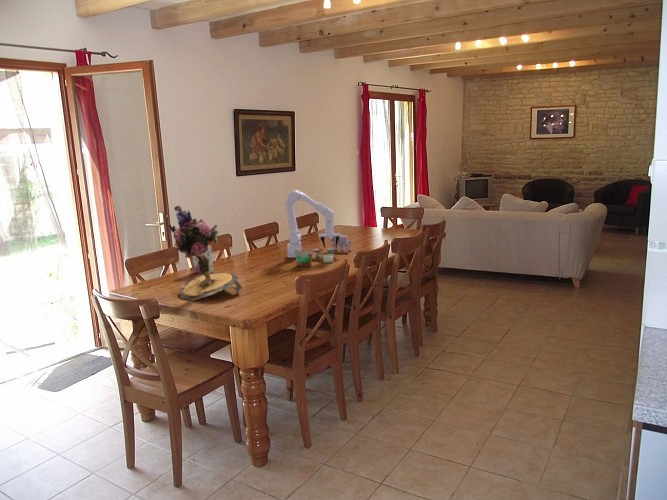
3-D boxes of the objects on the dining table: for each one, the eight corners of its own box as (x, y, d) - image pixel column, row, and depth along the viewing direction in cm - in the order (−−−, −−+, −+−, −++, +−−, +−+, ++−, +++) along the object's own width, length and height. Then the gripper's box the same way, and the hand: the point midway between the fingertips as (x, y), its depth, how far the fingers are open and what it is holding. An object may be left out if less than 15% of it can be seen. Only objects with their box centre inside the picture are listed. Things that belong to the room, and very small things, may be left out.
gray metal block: (327, 257, 354) (327, 249, 353) (327, 255, 358) (327, 248, 357) (333, 256, 354) (333, 249, 353) (333, 255, 358) (333, 248, 357)
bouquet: (142, 293, 269) (158, 205, 273) (216, 301, 301) (229, 223, 305) (175, 300, 246) (192, 204, 250) (252, 309, 277) (266, 224, 281)
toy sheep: (320, 251, 371) (320, 232, 368) (326, 249, 380) (325, 230, 378) (347, 253, 364) (347, 233, 362) (352, 250, 374) (352, 231, 371)
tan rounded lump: (311, 260, 346) (311, 251, 345) (312, 257, 354) (312, 248, 353) (324, 259, 346) (323, 250, 345) (324, 257, 354) (324, 248, 353)
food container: (291, 266, 330) (290, 251, 328) (296, 264, 335) (295, 249, 333) (308, 268, 324) (307, 252, 322) (313, 266, 330) (312, 250, 327)
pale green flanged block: (323, 262, 338) (323, 257, 338) (324, 259, 346) (323, 254, 345) (333, 262, 338) (333, 256, 337) (333, 259, 346) (333, 254, 345)
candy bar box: (193, 273, 322) (190, 246, 319) (197, 271, 327) (195, 245, 324) (210, 273, 319) (207, 247, 316) (214, 271, 324) (211, 245, 321)
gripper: (318, 229, 348) (319, 249, 351) (340, 228, 348) (341, 248, 351) (318, 227, 355) (319, 247, 358) (340, 226, 355) (341, 246, 357)
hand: (330, 247), depth 355 cm, fingers open, 7 cm apart
